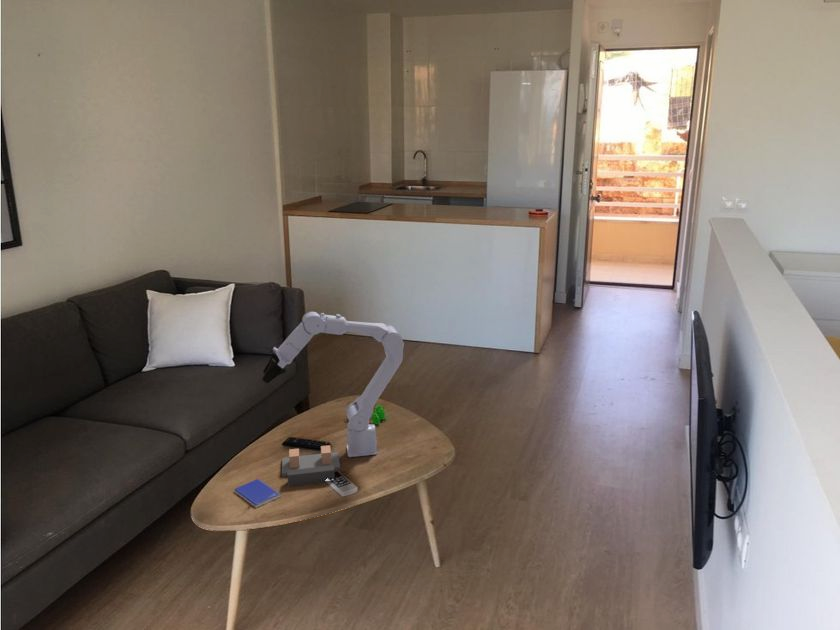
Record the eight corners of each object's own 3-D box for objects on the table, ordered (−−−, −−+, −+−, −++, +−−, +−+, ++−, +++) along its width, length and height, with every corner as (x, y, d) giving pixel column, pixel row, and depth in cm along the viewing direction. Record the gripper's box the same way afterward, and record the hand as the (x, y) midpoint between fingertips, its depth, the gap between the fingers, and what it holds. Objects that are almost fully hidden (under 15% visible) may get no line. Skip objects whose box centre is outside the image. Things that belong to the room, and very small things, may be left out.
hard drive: (280, 493, 194) (258, 478, 203) (255, 504, 189) (234, 488, 198) (280, 498, 195) (258, 482, 203) (256, 509, 189) (234, 493, 198)
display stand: (338, 454, 218) (337, 440, 217) (340, 469, 209) (339, 455, 207) (282, 460, 215) (281, 446, 214) (282, 476, 206) (280, 461, 204)
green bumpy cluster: (339, 419, 245) (338, 402, 243) (372, 407, 254) (371, 391, 252) (362, 432, 234) (361, 414, 232) (396, 420, 243) (395, 402, 241)
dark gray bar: (334, 476, 205) (333, 465, 204) (335, 481, 202) (334, 470, 201) (288, 481, 203) (287, 470, 202) (288, 487, 200) (287, 475, 199)
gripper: (283, 331, 211) (255, 363, 211) (283, 342, 197) (253, 376, 197) (300, 344, 213) (273, 376, 213) (301, 357, 199) (272, 390, 199)
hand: (265, 377), depth 205 cm, fingers open, 7 cm apart
